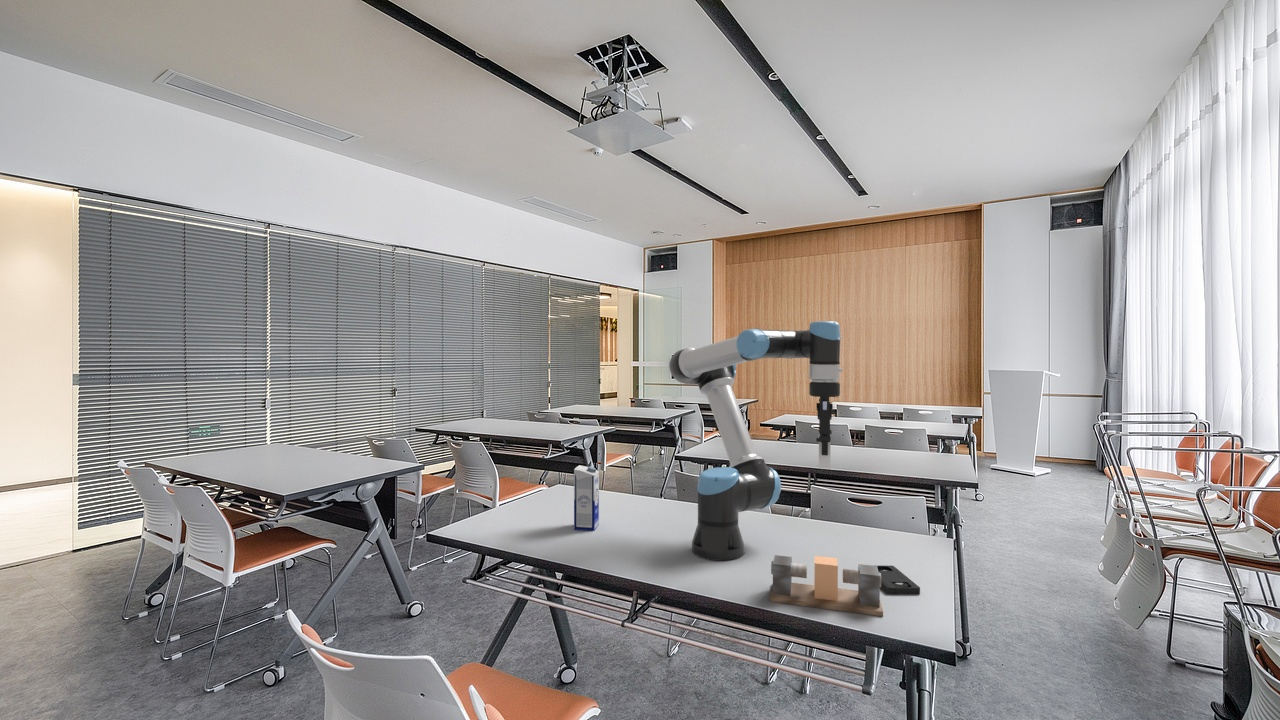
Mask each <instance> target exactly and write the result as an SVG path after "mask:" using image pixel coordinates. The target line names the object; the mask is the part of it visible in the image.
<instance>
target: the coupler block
mask: <svg viewBox="0 0 1280 720" xmlns="http://www.w3.org/2000/svg"><path fill="white" fill-rule="evenodd" d="M838 570H839V563H838V558H837V557H829V556H820V555H814V585H815V598H817V599H825V600H833V601H838V588H839V587H838V586H839V585H838V583H839V577H838V576H839V574H838V573H839V571H838Z"/></svg>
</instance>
